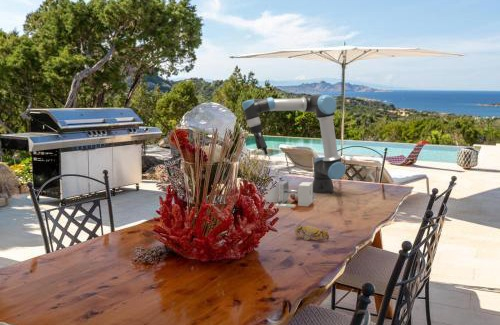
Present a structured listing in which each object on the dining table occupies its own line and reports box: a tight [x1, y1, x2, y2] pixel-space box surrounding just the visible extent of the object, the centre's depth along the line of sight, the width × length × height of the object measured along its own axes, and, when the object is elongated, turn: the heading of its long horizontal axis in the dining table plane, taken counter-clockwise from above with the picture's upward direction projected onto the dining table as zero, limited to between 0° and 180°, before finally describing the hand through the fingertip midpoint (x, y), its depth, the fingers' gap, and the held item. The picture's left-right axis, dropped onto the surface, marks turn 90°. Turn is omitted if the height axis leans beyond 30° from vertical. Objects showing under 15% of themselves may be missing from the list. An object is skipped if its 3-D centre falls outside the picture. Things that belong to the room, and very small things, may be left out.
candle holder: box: [265, 180, 281, 204], centre depth 281 cm, size 10×10×12 cm
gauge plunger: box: [277, 180, 298, 204], centre depth 274 cm, size 10×18×12 cm, turn 161°
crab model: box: [294, 224, 330, 243], centre depth 207 cm, size 16×13×6 cm
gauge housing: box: [274, 181, 314, 209], centre depth 273 cm, size 18×18×12 cm
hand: (265, 159), depth 278 cm, fingers open, 13 cm apart
